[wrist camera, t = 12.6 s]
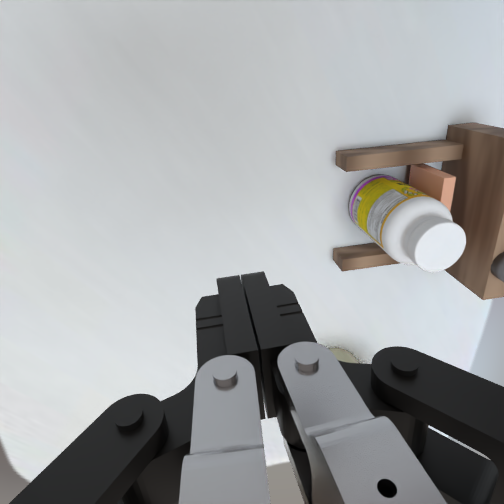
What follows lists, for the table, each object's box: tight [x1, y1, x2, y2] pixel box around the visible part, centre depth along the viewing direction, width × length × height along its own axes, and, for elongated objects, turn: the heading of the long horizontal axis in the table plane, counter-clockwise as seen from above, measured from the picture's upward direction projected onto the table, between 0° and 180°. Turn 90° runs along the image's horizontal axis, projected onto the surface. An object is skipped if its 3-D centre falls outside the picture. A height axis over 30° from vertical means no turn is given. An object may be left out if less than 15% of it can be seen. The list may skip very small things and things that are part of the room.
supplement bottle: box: [349, 175, 466, 272], centre depth 38 cm, size 7×7×13 cm
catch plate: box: [409, 163, 456, 211], centre depth 41 cm, size 1×9×6 cm, turn 4°
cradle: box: [333, 123, 504, 300], centre depth 39 cm, size 16×16×12 cm
